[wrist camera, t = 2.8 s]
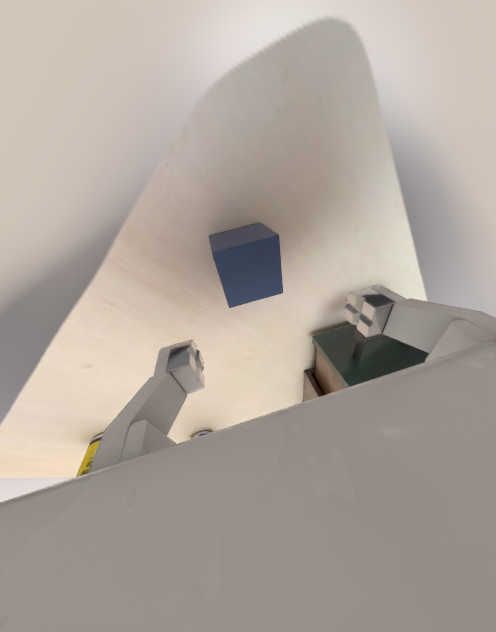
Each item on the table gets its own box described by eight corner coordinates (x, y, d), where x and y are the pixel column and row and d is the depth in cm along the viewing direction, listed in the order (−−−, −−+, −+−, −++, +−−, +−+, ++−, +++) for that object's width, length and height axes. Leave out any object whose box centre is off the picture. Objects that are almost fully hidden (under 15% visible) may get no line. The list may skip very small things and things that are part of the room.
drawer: (314, 309, 21) (360, 361, 15) (401, 284, 22) (479, 324, 16) (309, 387, 33) (334, 434, 27) (366, 368, 33) (404, 411, 27)
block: (208, 235, 15) (212, 252, 11) (260, 222, 15) (279, 235, 12) (223, 283, 18) (229, 308, 14) (266, 271, 18) (283, 293, 14)
